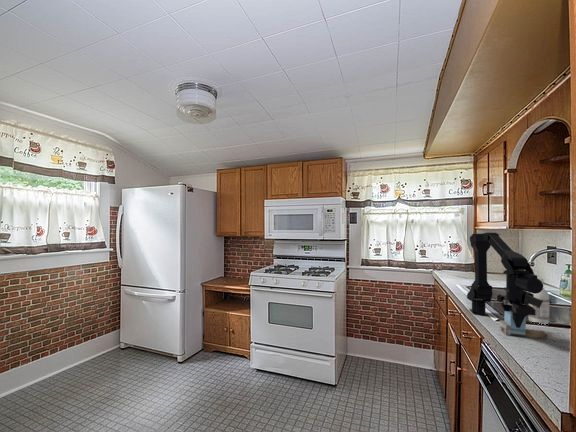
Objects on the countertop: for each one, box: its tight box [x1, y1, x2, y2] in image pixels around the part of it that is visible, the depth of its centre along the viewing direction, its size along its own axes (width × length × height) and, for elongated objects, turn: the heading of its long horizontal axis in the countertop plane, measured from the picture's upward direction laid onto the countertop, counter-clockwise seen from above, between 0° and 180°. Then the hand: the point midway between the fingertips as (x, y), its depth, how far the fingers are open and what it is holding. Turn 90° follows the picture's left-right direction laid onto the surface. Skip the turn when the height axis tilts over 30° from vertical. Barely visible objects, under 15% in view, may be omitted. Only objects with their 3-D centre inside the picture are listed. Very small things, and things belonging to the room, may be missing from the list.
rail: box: [499, 319, 548, 340], centre depth 111 cm, size 14×6×4 cm, turn 72°
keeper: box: [503, 311, 527, 335], centre depth 112 cm, size 5×6×7 cm
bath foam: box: [527, 277, 550, 326], centre depth 125 cm, size 7×7×20 cm
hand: (514, 324), depth 112 cm, fingers closed on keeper, 5 cm apart
